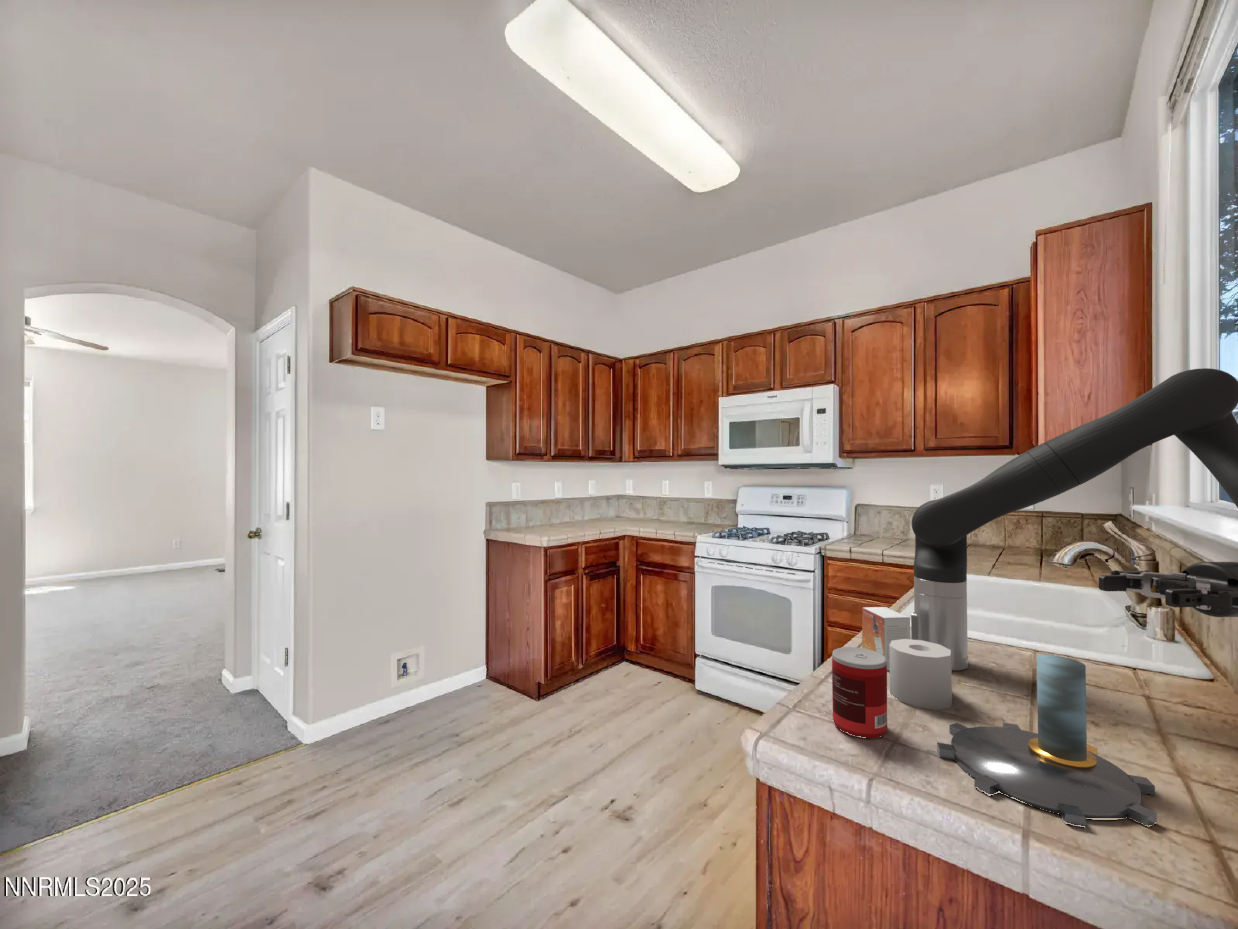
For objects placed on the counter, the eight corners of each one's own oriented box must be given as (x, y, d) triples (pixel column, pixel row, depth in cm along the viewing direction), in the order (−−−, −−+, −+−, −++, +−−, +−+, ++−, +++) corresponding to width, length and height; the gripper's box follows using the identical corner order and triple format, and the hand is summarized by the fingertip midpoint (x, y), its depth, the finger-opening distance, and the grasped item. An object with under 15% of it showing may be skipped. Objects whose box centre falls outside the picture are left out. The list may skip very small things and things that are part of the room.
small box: (861, 656, 109) (861, 606, 109) (886, 655, 110) (886, 606, 110) (884, 671, 101) (883, 617, 101) (911, 670, 102) (910, 616, 102)
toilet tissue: (952, 686, 94) (952, 639, 94) (950, 715, 83) (949, 661, 83) (896, 675, 99) (896, 630, 99) (887, 701, 88) (886, 650, 88)
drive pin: (1035, 751, 70) (1034, 661, 70) (1040, 737, 73) (1039, 652, 73) (1085, 766, 66) (1084, 671, 66) (1088, 750, 70) (1086, 661, 70)
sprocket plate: (922, 772, 67) (922, 760, 67) (961, 716, 83) (960, 706, 83) (1159, 858, 52) (1159, 843, 52) (1152, 770, 68) (1152, 758, 68)
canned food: (883, 719, 82) (882, 649, 82) (891, 744, 74) (891, 667, 74) (831, 711, 84) (830, 644, 84) (834, 735, 77) (833, 661, 77)
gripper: (1178, 553, 79) (1081, 554, 78) (1309, 572, 65) (1195, 573, 64) (1177, 602, 79) (1081, 603, 78) (1309, 632, 65) (1194, 634, 64)
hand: (1132, 590), depth 71 cm, fingers open, 8 cm apart
